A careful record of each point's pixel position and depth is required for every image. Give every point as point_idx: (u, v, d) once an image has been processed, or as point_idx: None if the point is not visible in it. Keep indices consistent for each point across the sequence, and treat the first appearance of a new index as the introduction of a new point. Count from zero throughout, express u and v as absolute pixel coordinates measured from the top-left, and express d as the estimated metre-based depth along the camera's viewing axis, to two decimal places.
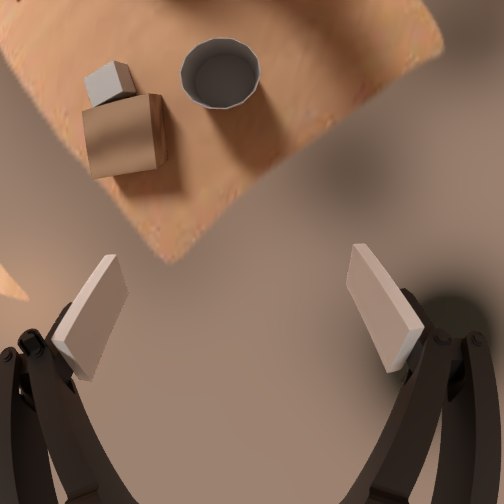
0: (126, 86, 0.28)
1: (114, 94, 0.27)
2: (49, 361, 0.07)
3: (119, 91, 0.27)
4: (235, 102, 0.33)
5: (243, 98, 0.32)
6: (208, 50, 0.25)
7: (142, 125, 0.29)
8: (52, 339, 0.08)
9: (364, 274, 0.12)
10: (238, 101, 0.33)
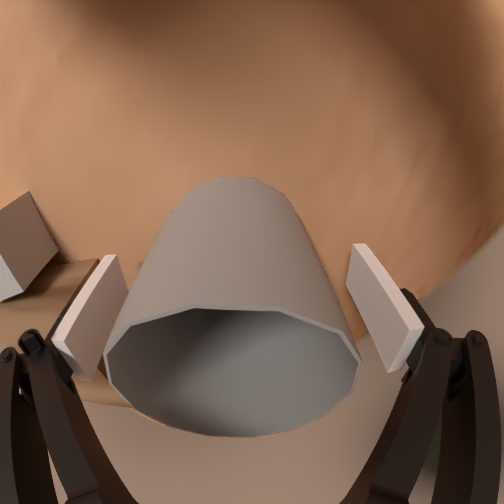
0: (31, 264, 0.13)
1: (14, 292, 0.12)
2: (49, 361, 0.07)
3: (19, 290, 0.12)
4: None
5: None
6: None
7: None
8: (52, 339, 0.08)
9: (364, 274, 0.12)
10: None
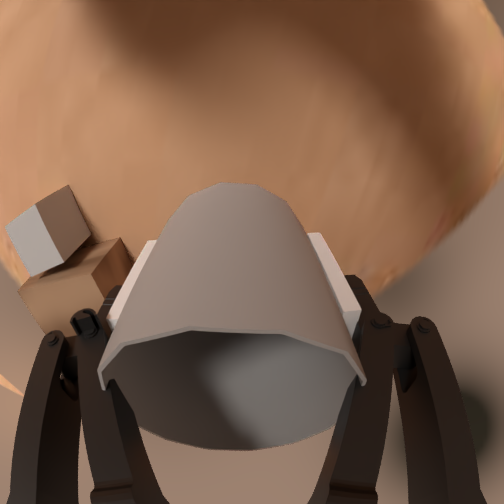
0: (70, 242, 0.18)
1: (54, 264, 0.17)
2: (102, 344, 0.08)
3: (59, 261, 0.17)
4: None
5: None
6: None
7: None
8: (107, 318, 0.09)
9: None
10: None
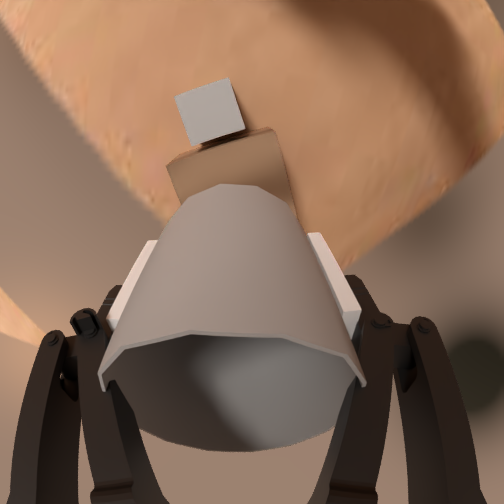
0: None
1: (231, 131, 0.22)
2: (102, 344, 0.08)
3: (239, 128, 0.22)
4: None
5: None
6: None
7: (273, 178, 0.23)
8: (107, 318, 0.09)
9: None
10: None
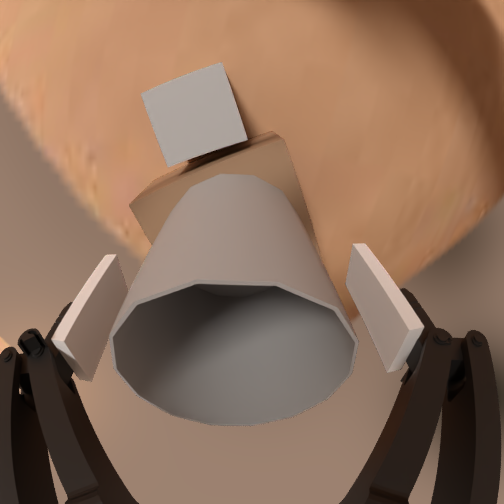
0: None
1: (225, 144, 0.15)
2: (49, 361, 0.07)
3: (239, 139, 0.15)
4: (258, 286, 0.18)
5: None
6: None
7: None
8: (52, 339, 0.08)
9: (364, 274, 0.12)
10: None
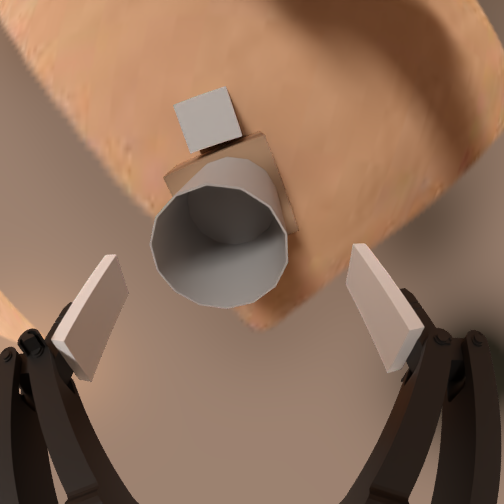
0: None
1: (228, 138, 0.23)
2: (49, 361, 0.07)
3: (236, 135, 0.23)
4: (245, 237, 0.26)
5: (257, 232, 0.25)
6: (202, 175, 0.18)
7: None
8: (52, 339, 0.08)
9: (364, 274, 0.12)
10: (250, 236, 0.26)
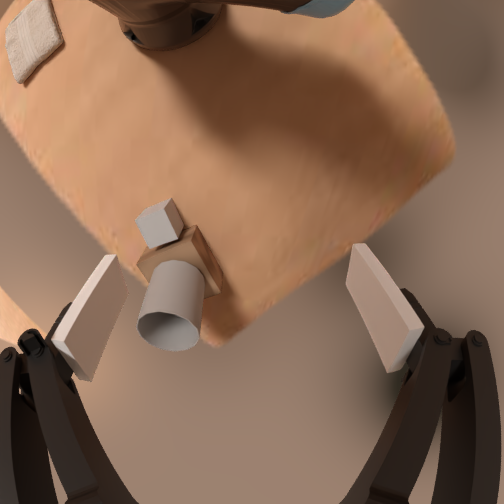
0: (178, 228, 0.40)
1: (170, 240, 0.39)
2: (49, 361, 0.07)
3: (174, 238, 0.38)
4: None
5: None
6: (158, 288, 0.34)
7: (196, 266, 0.40)
8: (52, 339, 0.08)
9: (364, 274, 0.12)
10: None
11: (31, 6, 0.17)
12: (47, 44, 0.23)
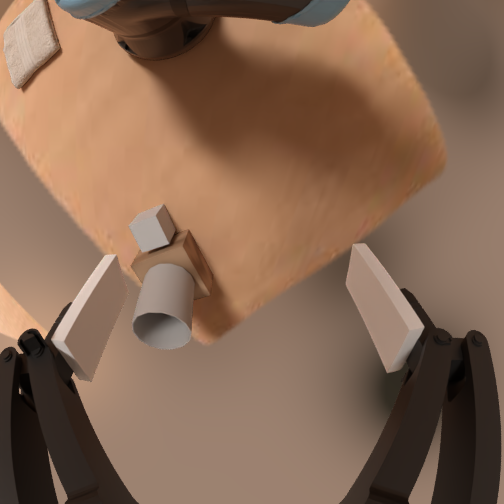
0: (169, 234, 0.41)
1: (161, 245, 0.40)
2: (49, 361, 0.07)
3: (166, 243, 0.40)
4: None
5: None
6: (158, 289, 0.35)
7: (187, 269, 0.42)
8: (52, 339, 0.08)
9: (364, 274, 0.12)
10: None
11: (28, 10, 0.17)
12: (44, 51, 0.24)
